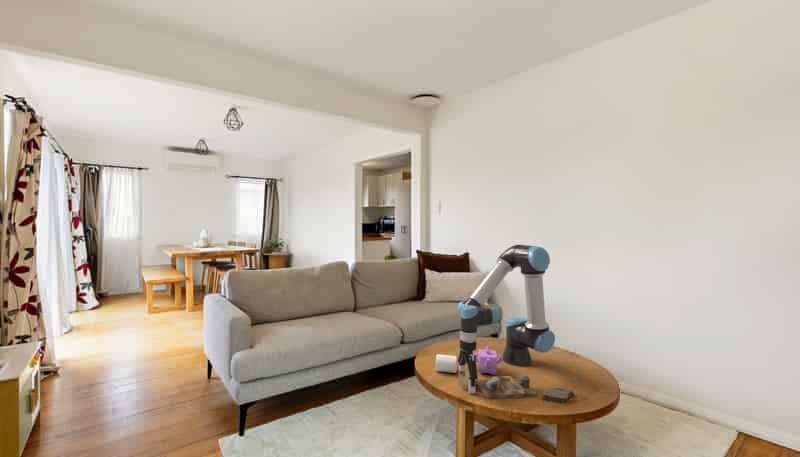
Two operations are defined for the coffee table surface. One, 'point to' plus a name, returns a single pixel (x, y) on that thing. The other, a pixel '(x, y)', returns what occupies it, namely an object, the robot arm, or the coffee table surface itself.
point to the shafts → (493, 383)
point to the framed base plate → (505, 389)
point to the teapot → (487, 361)
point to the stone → (558, 395)
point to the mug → (446, 363)
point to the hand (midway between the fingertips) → (466, 385)
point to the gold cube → (464, 380)
